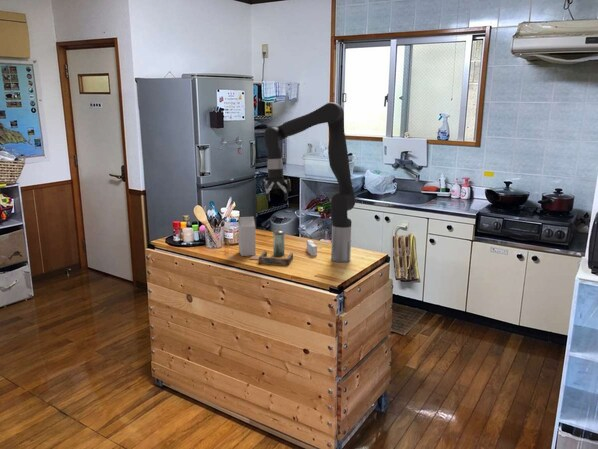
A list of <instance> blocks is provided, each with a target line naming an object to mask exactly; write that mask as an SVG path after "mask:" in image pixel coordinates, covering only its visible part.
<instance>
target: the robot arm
mask: <svg viewBox="0 0 598 449" xmlns="http://www.w3.org/2000/svg"><path fill="white" fill-rule="evenodd" d="M326 123H327V126H328V130H329V131H328V132H329V141H328V147H327V154H328V163H329V167H330V169H331V172H332V173H333V175H334V176H335V178H336V181H337V185H338V193H335V194H334V195H333V196H332V197H331V200H330V220H331V222H332V223H331V224H332V225H331V250H330V251H331V252H330V257H331V258H330V259H331V260H332V261H333V262H338V263H347V262H350V261H351V255H352V254H351V251H352V219H350V218H349V217H348V212H349V211H351V210H352V209H354V208H355V205H356V196H355V192H354V188H353V183H352V176H351V169H350V162H349V152H348V146H347V139H346V133H345V112H344V109H343V106H342V105H341V104H339V103H336V102H333V101H330V102H327V103H325V104H323V105H322V106H320V107H319V108H316V109H315V110H313V111H311V112H309V113H307V114H304V115H301V116H298V117H295V118H293V119H291V120H288V121H285V122H284V123H282V124H281V125H278V126H268V127H267V128H266V129H265V131H264V133H263V134H264V136H263V139H264V143H265V144H264V145H265V147H266V153H267V154H266V155H267V178H268V179H267V180H265V179H263V180H262V181H261V188H262V189H261V192H262V194H263V193H264V194H265V196H266V197H265V198H266V200H267V202H270V201H271V195H270V191H271V190H272V189H273V190H275V189H278V190H279V189H281V190H282V191H283V193H284V194H283V195H284V201H287V200H288V198H289V197H288V196H289V195H288V193H289V192H291V191H292V188H291V187H292V186H291V180H290V178H288V179H285V178H284V165H283V163H284V162H283V155H282V154H283V153H282V148H281V147H280V146H279V142H280V141H282V140H285V139H287V138H289V137H292V136H294V135H297V134H300V133H302V132H304V131H307V130H308V129H310V128H312V127H314V126H317V125H321V124H326ZM284 184H286V185H287V188H286V186H284ZM266 185H269V186H268V188H267V190H266Z"/></svg>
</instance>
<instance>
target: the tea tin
mask: <svg viewBox="0 0 598 449" xmlns="http://www.w3.org/2000/svg"><path fill="white" fill-rule="evenodd" d="M285 232H286V231H285V230H283V229H282V230H281V229H279V230H278V229H277V230H273V254H272V255H273V256H274V257H276V258H282V257H284V256H285V247H286V246H285V238H286V237H285V236H286V235H285V234H286V233H285Z"/></svg>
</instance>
